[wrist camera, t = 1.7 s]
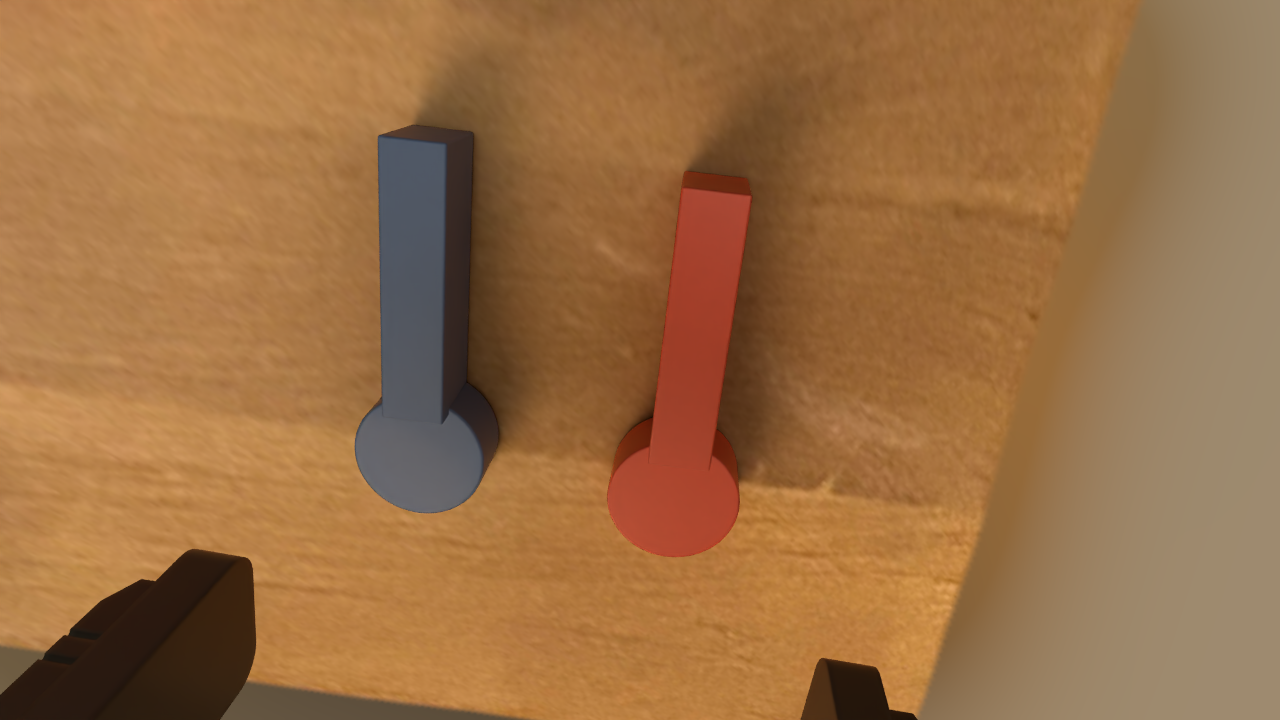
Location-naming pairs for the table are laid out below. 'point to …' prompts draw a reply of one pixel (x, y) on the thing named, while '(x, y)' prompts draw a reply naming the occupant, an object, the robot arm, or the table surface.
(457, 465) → the blue spoon
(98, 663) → the robot arm
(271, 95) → the table surface
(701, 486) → the red spoon
